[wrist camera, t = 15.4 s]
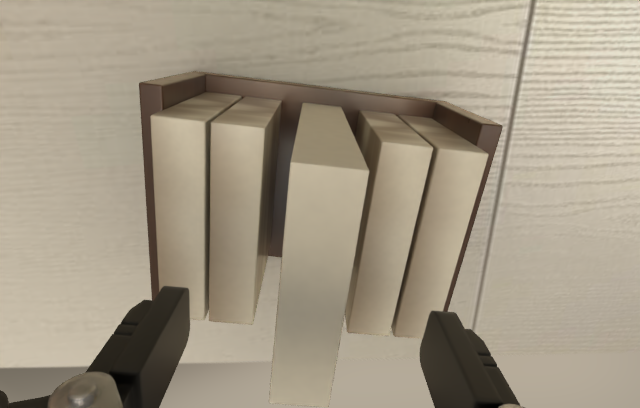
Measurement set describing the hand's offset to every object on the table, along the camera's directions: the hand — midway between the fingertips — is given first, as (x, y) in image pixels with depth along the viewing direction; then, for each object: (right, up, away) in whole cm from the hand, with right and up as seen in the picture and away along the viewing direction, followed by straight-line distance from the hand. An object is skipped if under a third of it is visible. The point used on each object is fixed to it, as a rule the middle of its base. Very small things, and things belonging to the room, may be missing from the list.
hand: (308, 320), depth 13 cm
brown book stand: (0, +6, +14) cm, 15 cm away
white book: (0, +5, +13) cm, 14 cm away
